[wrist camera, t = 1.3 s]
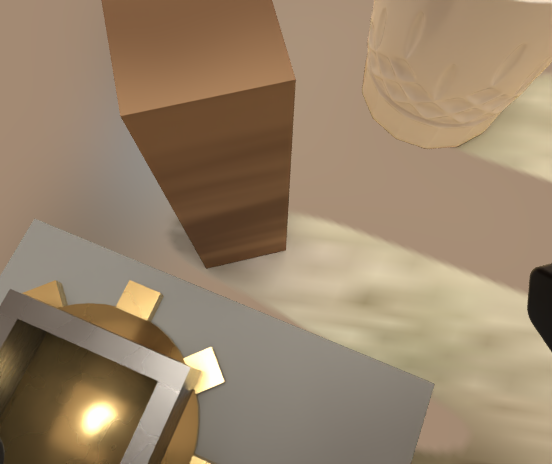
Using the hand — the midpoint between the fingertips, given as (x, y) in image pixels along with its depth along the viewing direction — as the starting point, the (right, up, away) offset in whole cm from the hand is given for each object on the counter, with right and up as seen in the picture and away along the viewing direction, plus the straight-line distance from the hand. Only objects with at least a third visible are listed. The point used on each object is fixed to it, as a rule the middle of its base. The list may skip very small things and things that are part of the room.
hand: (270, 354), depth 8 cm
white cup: (+8, +9, +17) cm, 21 cm away
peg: (-2, +2, +14) cm, 15 cm away
